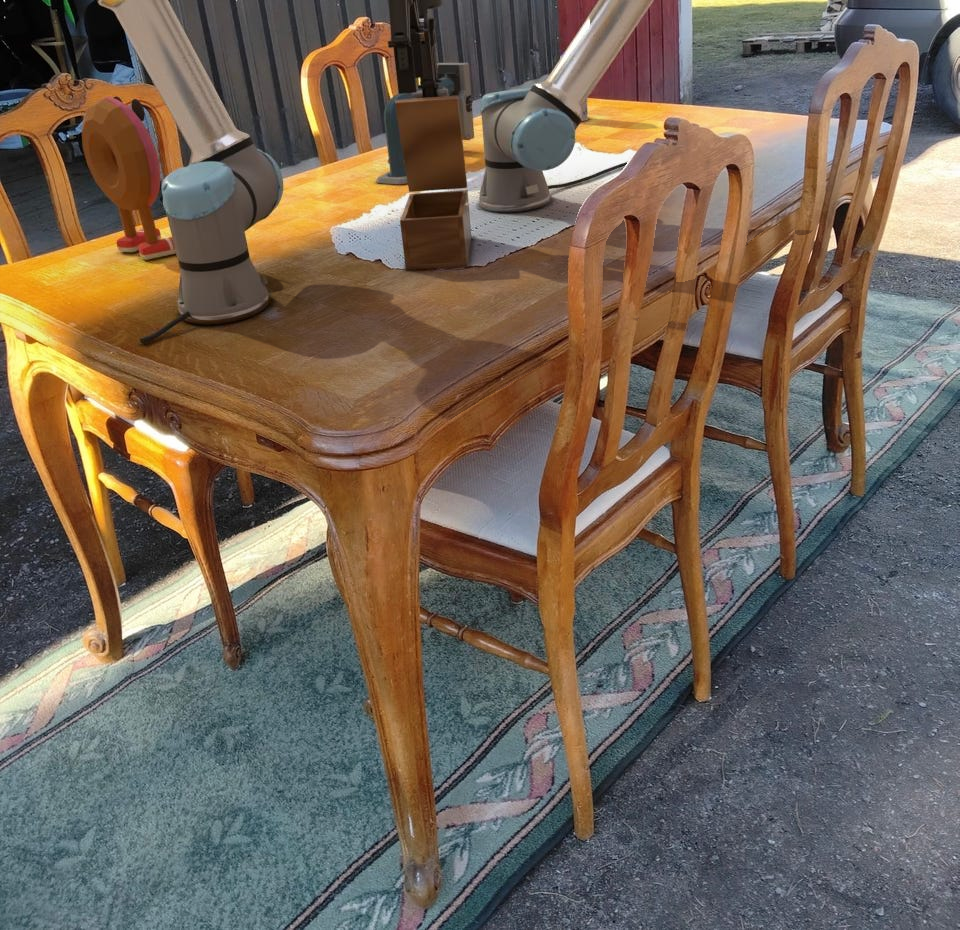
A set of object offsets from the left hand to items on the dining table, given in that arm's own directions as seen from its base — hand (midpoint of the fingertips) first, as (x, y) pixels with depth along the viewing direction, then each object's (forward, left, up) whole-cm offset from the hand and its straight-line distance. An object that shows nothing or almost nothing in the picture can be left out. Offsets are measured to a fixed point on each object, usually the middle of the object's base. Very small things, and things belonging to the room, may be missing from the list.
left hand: (411, 85), depth 153 cm
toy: (+13, +66, -33) cm, 75 cm away
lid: (+21, +6, -14) cm, 26 cm away
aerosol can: (+133, +3, -33) cm, 137 cm away
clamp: (+81, +30, -33) cm, 92 cm away
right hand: (+27, +7, -11) cm, 30 cm away
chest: (+16, +4, -33) cm, 37 cm away
